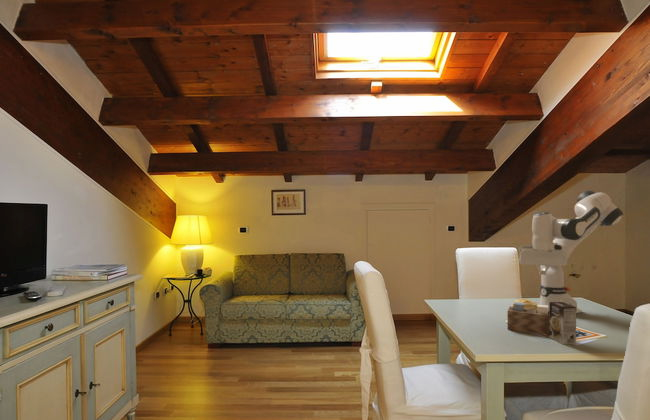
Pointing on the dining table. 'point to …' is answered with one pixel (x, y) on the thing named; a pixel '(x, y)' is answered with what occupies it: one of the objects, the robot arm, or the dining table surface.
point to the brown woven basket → (528, 321)
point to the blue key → (518, 306)
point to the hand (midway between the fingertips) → (542, 274)
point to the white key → (542, 309)
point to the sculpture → (527, 303)
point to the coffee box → (562, 322)
